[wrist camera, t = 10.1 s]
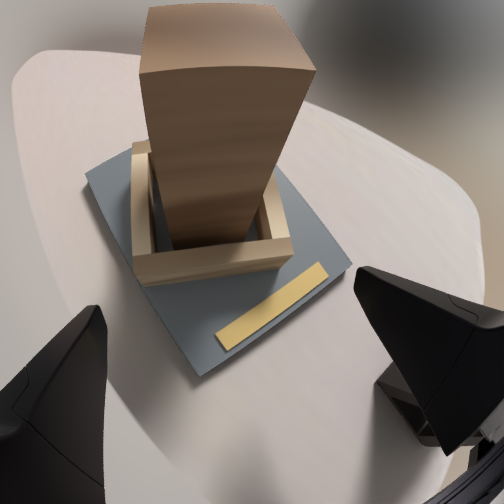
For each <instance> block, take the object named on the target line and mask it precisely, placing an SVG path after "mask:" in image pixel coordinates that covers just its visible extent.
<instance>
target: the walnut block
mask: <svg viewBox="0 0 504 504" xmlns="http://www.w3.org/2000/svg"><path fill="white" fill-rule="evenodd" d="M315 73H316V69H315V67H314V66H313V64H312V62H311V60H310V59H309V57H308V56H307V54H306V52H305V51H304V49H303V48H302V46H301V44H300V43H299V41H298V40H297V38H296V37H295V35H294V34H293V32H292V31H291V29H290V28H289V27H288V25H287V24H286V22H285V21H284V19H283V18H282V16H281V15H280V14H279V12H278V11H277V10H276V8H275V7H274V6H267V5H256V4H238V3H236V4H235V3H196V4H180V5H167V6H158V7H150V8H149V11H148V16H147V21H146V27H145V33H144V39H143V46H142V54H141V60H140V69H139V78H140V86H141V93H142V99H143V106H144V112H145V118H146V124H147V130H148V136H149V141H150V147H151V152H152V157H153V162H154V167H155V172H156V177H157V182H158V186H159V191H160V195H161V200H162V204H163V209H164V213H165V217H166V221H167V225H168V229H169V233H170V237H171V241H172V245H173V249H174V251H177V250H185V249H192V248H199V247H206V246H214V245H221V244H228V243H235V242H243V241H244V239H245V237H246V234H247V232H248V230H249V227H250V225H251V222H252V220H253V218H254V215H255V213H256V210H257V208H258V206H259V203H260V201H261V199H262V196H263V194H264V191H265V189H266V187H267V184H268V182H269V180H270V177H271V175H272V173H273V170H274V168H275V165H276V163H277V161H278V158H279V156H280V154H281V151H282V149H283V147H284V144H285V142H286V140H287V137H288V135H289V133H290V130H291V128H292V126H293V123H294V121H295V119H296V116H297V114H298V112H299V110H300V107H301V105H302V103H303V100H304V98H305V96H306V93H307V91H308V89H309V87H310V84H311V82H312V80H313V77H314V75H315Z"/></svg>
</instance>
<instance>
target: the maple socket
mask: <svg viewBox="0 0 504 504" xmlns="http://www.w3.org/2000/svg"><path fill="white" fill-rule="evenodd" d="M155 178H157V177H156V172H155V167H154V162H153V157H152V152H151V147H150V141H149V140H148V141H141V142H134V143H132V162H131V235H132V256H133V271H134V276H135V277H136V278H137V279H138V280H139V281H140V282H141V283H142V285H143V286H144V287H148V286H156V285H164V284H172V283H180V282H188V281H195V280H203V279H210V278H218V277H225V276H233V275H240V274H247V273H254V272H261V271H268V270H275V269H280V268H281V267H282V266H283V265H284V264H285V263H286V262H287V261H288V260H289V259H290V258H291V257H292V256H293V255H294V251H293V247H292V243H291V238H290V234H289V230H288V226H287V222H286V218H285V213H284V209H283V205H282V201H281V197H280V193H279V189H278V185H277V182H276V178H275V174H274V170H273V173H272V175H271V177H270V180H269V182H268V184H267V187H266V189H265V191H264V194H263V196H262V199H261V201H260V203H259V206H258V208H257V210H256V213H255V215H254V221H255V226H256V231H257V236H258V241H251V242H242V243H234V244H225V245H217V246H209V247H201V248H193V249H185V250H177V251H169V252H161V253H157V241H156V227H155V209H154V184H153V179H155Z"/></svg>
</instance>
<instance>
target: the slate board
mask: <svg viewBox="0 0 504 504" xmlns="http://www.w3.org/2000/svg"><path fill="white" fill-rule="evenodd" d="M148 140H149V139H148ZM148 140H146V141H148ZM131 162H132V148H130V149H128V150H126V151H124V152H122V153H120V154H118V155H117V156H115V157H113V158H111V159H109V160H107V161H106V162H104V163H102V164H100V165H99V166H97V167H95V168H93V169H92V170H90V171H88V172H87V173H85V175H86V178H87V180H88V182H89V185H90V187H91V189H92V191H93V194H94V196H95V198H96V200H97V202H98V205H99V207H100V209H101V211H102V213H103V215H104V217H105V219H106V221H107V224H108V226H109V228H110V230H111V232H112V234H113V236H114V238H115V240H116V241H117V243H118V245H119V247H120V249H121V251H122V253H123V255H124V257H125V259H126V260H127V262H128V264H129V266H130V268H131V270H132V271H133V256H132V235H131ZM274 174H275V178H276V182H277V185H278V189H279V193H280V197H281V201H282V205H283V209H284V213H285V218H286V222H287V226H288V230H289V234H290V238H291V243H292V247H293V251H294V255H293V256H292V257H291V258H290V259H289V260H288V261H287V262H286V263H285V264H284V265H283V266H282V267H281V268H280V269H275V270H268V271H261V272H254V273H247V274H240V275H233V276H225V277H218V278H210V279H203V280H195V281H188V282H180V283H172V284H164V285H156V286H148V287H144V286H143V285H142V283H141V282H140V281H139V280H138V279H137V280H138V282H139V284H140V285H141V287H142V289H143V291H144V292H145V294H146V296H147V297H148V299H149V301H150V302H151V304H152V306H153V307H154V309H155V311H156V312H157V314H158V315H159V317H160V319H161V320H162V322H163V323H164V325H165V326H166V328H167V330H168V331H169V333H170V334H171V336H172V337H173V339H174V340H175V342H176V343H177V345H178V346H179V348H180V349H181V351H182V352H183V354H184V355H185V356H186V358H187V359H188V361H189V362H190V364H191V365H192V366H193V368H194V369H195V371H196V372H197V373H198V375H199V376H202V375H203V374H205V373H207V372H208V371H210V370H211V369H213V368H214V367H216V366H217V365H219V364H220V363H222V362H223V361H225V360H226V359H228V358H229V357H231V356H232V355H233V354H235V353H236V352H238V351H239V350H241V349H242V348H244V347H245V346H246V345H248V344H249V343H251V342H252V341H254V340H255V339H256V338H258V337H259V336H261V335H262V334H263V333H265V332H266V331H267V330H269V329H270V328H272V327H273V326H274V325H276V324H277V323H278V322H280V321H281V320H282V319H284V318H285V317H287V316H288V315H289V314H291V313H292V312H293V311H294V310H296V309H297V308H298V307H300V306H301V305H302V304H304V303H305V302H306V301H308V300H309V299H310V298H311V297H313V296H314V295H315V294H317V293H318V292H319V291H320V290H322V289H323V288H324V287H325V286H327V285H328V284H329V283H330V282H332V281H333V280H334V279H335V278H337V277H338V276H339V275H340V274H341V273H343V272H344V271H345V270H346V269H348V268H349V267H350V266H351V265H352V262H351V261H350V259H349V258H348V257H347V255H346V254H345V252H344V251H343V250H342V248H341V247H340V246H339V244H338V243H337V241H336V240H335V239H334V237H333V236H332V235H331V233H330V232H329V231H328V229H327V228H326V227H325V225H324V224H323V223H322V221H321V220H320V219H319V217H318V216H317V215H316V214H315V212H314V211H313V210H312V208H311V207H310V206H309V205H308V203H307V202H306V201H305V199H304V198H303V197H302V196H301V194H300V193H299V192H298V191H297V189H296V188H295V187H294V186H293V184H292V183H291V182H290V181H289V180H288V178H287V177H286V176H285V175H284V173H283V172H282V171H281V170H280V169H279V167H278V166H277V165H275V168H274ZM153 184H154V209H155V227H156V241H157V253H161V252H169V251H174V249H173V245H172V241H171V237H170V233H169V229H168V225H167V221H166V217H165V213H164V209H163V204H162V200H161V195H160V191H159V186H158V182H157V178H155V179H153ZM251 241H258V236H257V231H256V226H255V221H254V218H253V220H252V222H251V225H250V227H249V230H248V232H247V234H246V237H245V239H244V241H243V242H251ZM235 243H242V242H235ZM228 244H234V243H228ZM221 245H225V244H221ZM214 246H217V245H214ZM206 247H209V246H206ZM199 248H201V247H199ZM192 249H193V248H192ZM133 273H134V271H133Z"/></svg>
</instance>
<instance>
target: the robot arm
mask: <svg viewBox="0 0 504 504" xmlns="http://www.w3.org/2000/svg"><path fill="white" fill-rule="evenodd" d="M354 292H355V295H356V297H357V299H358V300H359V302H360V304H361V306H362V308H363V310H364V312H365V314H366V316H367V318H368V320H369V322H370V324H371V326H372V327H373V329H374V331H375V332H376V334H377V335H378V337H379V339H380V340H381V342H382V343H383V345H384V347H385V348H386V350H387V352H388V353H389V355H390V356H391V358H392V360H393V361H394V363H395V365H396V366H397V368H398V370H399V371H400V373H401V375H402V377H403V378H404V380H405V382H406V383H407V385H408V387H409V389H410V390H411V392H412V394H413V396H414V397H415V399H416V401H417V403H418V404H419V406H420V408H421V410H422V411H423V414H424V416H425V417H426V419H427V421H428V423H429V425H430V427H431V429H432V431H433V432H434V434H435V436H436V438H437V440H438V442H439V444H440V446H441V448H442V450H443V452H444V454H445V455H446V456H449V455H450V454H451V453H453V452H454V451H455V450H457V449H458V448H459V447H460V446H462V445H463V444H464V443H465V442H467V441H468V440H469V439H470V438H471V437H473V436H474V435H475V434H476V433H477V432H478V431H479V430H480V431H481V433H482V434H483V435H484V438H483V439H482V440H481V441H480V442H479V443H478V444H477V445H476V446H474V447H473V448H472V449H471V450H470V456H469V463H468V469H467V471H466V472H465V473H463V474H462V475H461V476H460V477H458V478H457V479H456V480H455V481H453V482H452V483H451V484H450V485H448V486H447V487H446V488H444V489H443V490H442V491H441V492H439V493H437V494H436V495H435V496H433V497H432V498H430V499H429V500H427V501H426V502H425V503H423V504H504V311H500V310H497V309H493V308H490V307H486V306H483V305H480V304H477V303H474V302H471V301H467V300H464V299H462V298H459V297H456V296H453V295H450V294H446V293H445V292H442V291H439V290H436V289H433V288H431V287H428V286H425V285H422V284H419V283H416V282H414V281H411V280H408V279H405V278H402V277H399V276H396V275H394V274H391V273H388V272H385V271H382V270H379V269H376V268H373V267H370V266H364V267H359V268H358V269H357V272H356V277H355V282H354ZM107 335H108V330H107V325H106V322H105V319H104V316H103V314H102V311H101V308H100V307H99V306H98V305H90V306H86V307H85V308H84V309H83V310H82V311H81V312H80V313H79V314H78V315H77V316H76V317H75V318H73V319H72V320H71V322H69V323H68V324H67V325H66V326H65V327H64V328H63V329H62V330H61V331H60V332H59V333H58V334H57V335H56V336H55V337H54V338H53V339H51V341H49V342H48V343H47V345H45V346H44V347H43V348H42V350H40V351H39V352H38V353H37V354H36V356H34V357H33V359H32V360H31V361H30V362H29V363H28V364H27V365H26V367H24V368H23V369H22V370H21V371H20V372H19V373H18V374H17V375H16V376H15V377H14V378H13V379H12V380H11V381H10V382H9V383H8V384H7V385H6V386H5V387H4V388H3V389H2V390H1V391H0V504H106V503H105V489H104V472H103V471H104V470H103V430H104V406H105V391H106V380H107Z"/></svg>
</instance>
